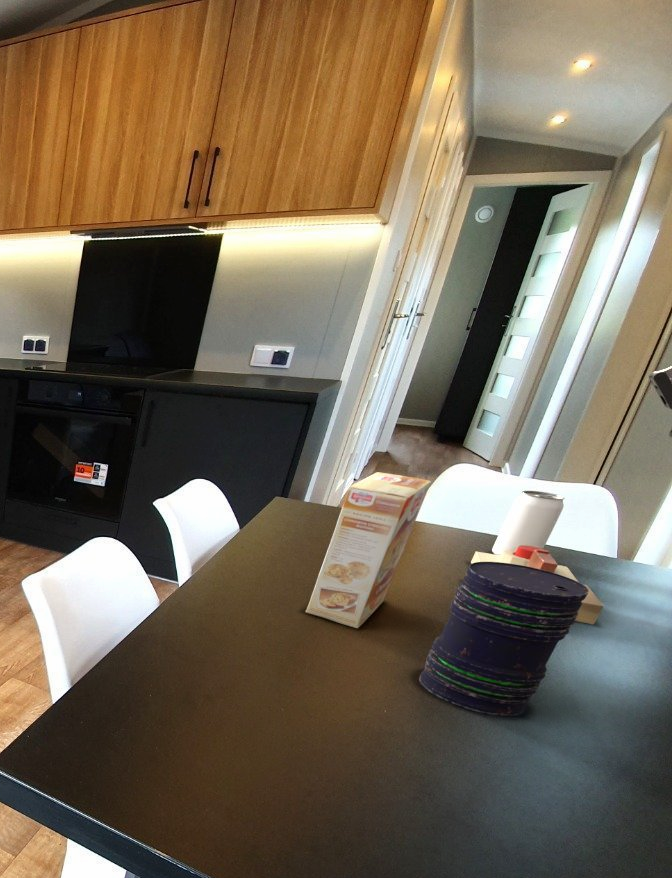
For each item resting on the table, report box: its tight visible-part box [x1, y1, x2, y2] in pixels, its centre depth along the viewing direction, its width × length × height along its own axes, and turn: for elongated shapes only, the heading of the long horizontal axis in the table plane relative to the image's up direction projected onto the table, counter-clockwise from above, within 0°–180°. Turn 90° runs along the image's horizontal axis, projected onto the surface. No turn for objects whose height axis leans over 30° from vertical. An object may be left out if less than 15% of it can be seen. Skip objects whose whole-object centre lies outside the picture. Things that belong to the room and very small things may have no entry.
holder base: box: [465, 573, 604, 625], centre depth 100 cm, size 14×11×3 cm
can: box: [491, 490, 565, 556], centre depth 117 cm, size 6×6×12 cm
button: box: [515, 545, 545, 560], centre depth 108 cm, size 4×4×2 cm
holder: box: [527, 549, 559, 573], centre depth 98 cm, size 7×2×5 cm, turn 144°
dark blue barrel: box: [418, 562, 589, 717], centre depth 73 cm, size 10×10×15 cm
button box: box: [470, 550, 579, 582], centre depth 109 cm, size 12×9×4 cm
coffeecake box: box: [305, 471, 433, 629], centre depth 93 cm, size 15×7×20 cm, turn 131°
